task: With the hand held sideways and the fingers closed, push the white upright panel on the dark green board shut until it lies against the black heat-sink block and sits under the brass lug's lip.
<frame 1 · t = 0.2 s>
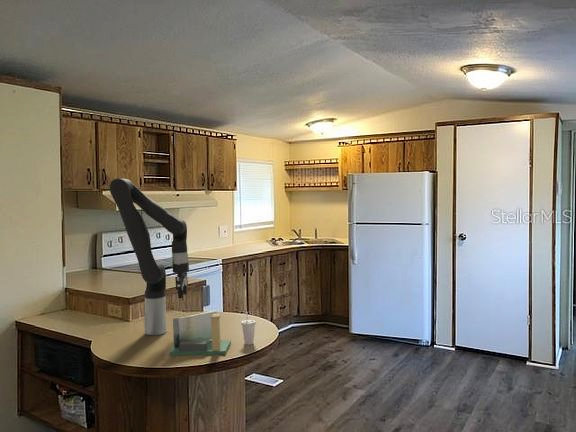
hand: (182, 296, 230), 17 cm above the countertop, tool pointing down, fingers open, 8 cm apart
bracket: (201, 349, 207), on the countertop
smoothie: (249, 343, 213), on the countertop
white upright panel: (195, 328, 209), point 8 cm above the countertop, hinge at 40.0°
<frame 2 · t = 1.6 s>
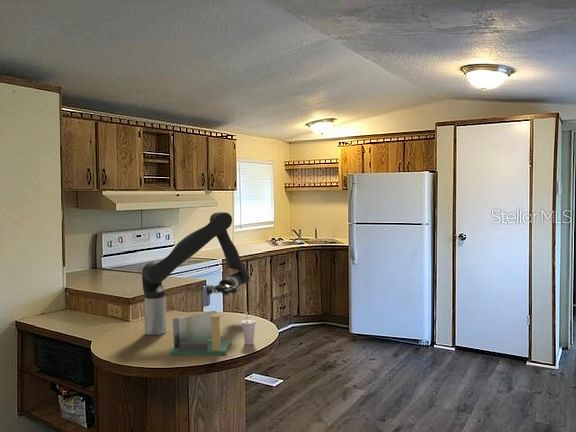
hand: (216, 292, 222), 20 cm above the countertop, tool horizontal, fingers open, 7 cm apart
nothing on the countertop moved.
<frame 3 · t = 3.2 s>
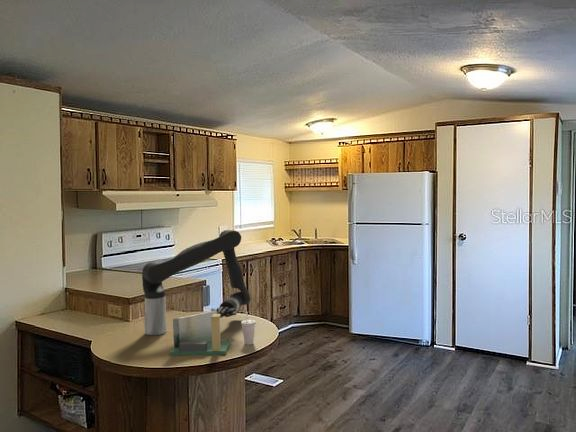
hand: (217, 316, 220), 10 cm above the countertop, tool horizontal, fingers closed
nothing on the countertop moved.
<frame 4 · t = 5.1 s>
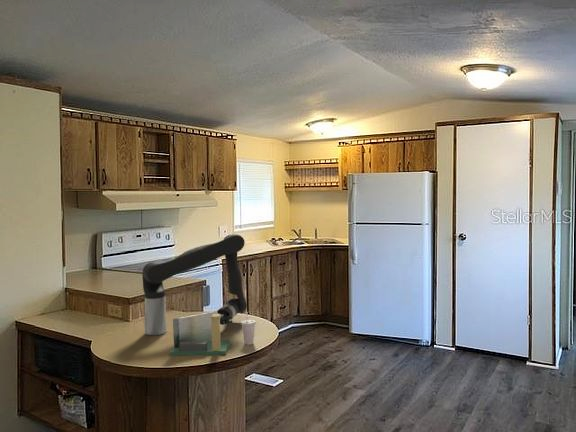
hand: (212, 324, 215), 8 cm above the countertop, tool horizontal, fingers closed
white upright panel: (196, 328, 209), point 8 cm above the countertop, hinge at 37.5°
everything else where it was.
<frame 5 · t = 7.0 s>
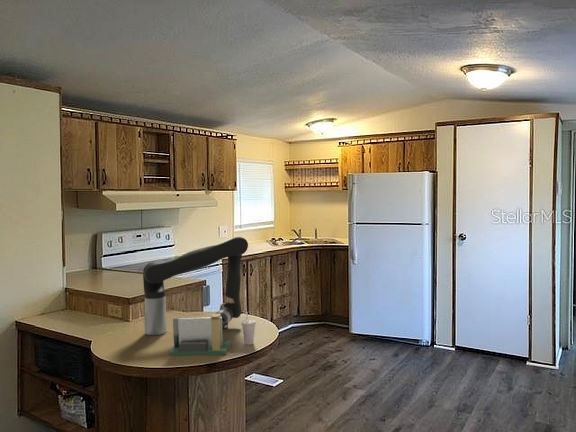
hand: (207, 331, 205), 8 cm above the countertop, tool horizontal, fingers closed
white upright panel: (197, 332, 204), point 8 cm above the countertop, hinge at 4.6°, touching gripper
everything else where it was.
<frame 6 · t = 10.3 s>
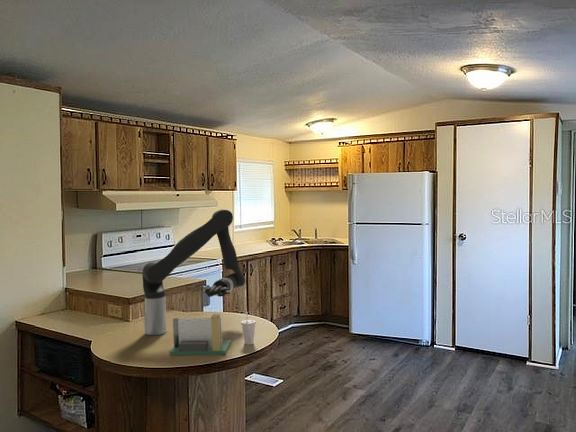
hand: (209, 294, 212), 22 cm above the countertop, tool horizontal, fingers closed
white upright panel: (197, 332, 204), point 8 cm above the countertop, hinge at -0.2°
everything else where it was.
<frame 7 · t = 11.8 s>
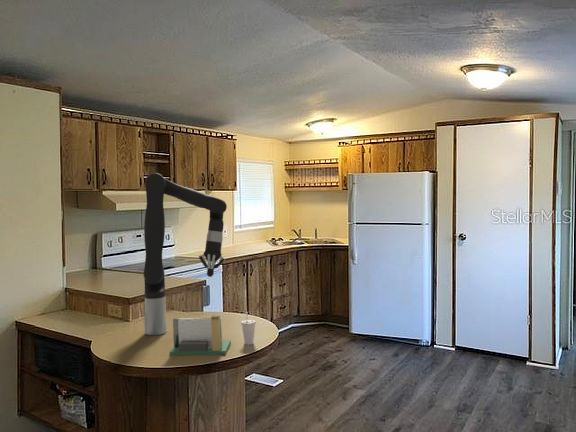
hand: (209, 276, 235), 25 cm above the countertop, tool pointing down, fingers closed
nothing on the countertop moved.
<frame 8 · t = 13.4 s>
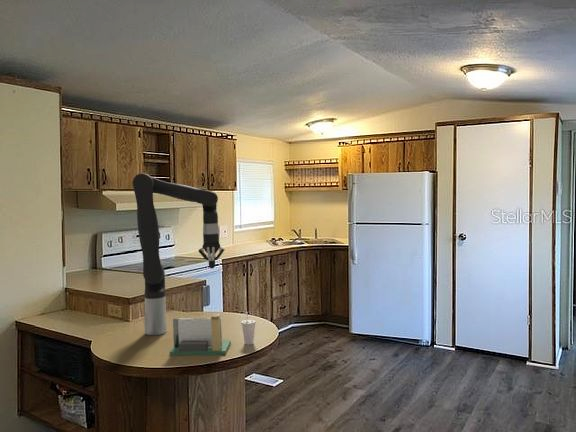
hand: (212, 268, 237), 29 cm above the countertop, tool pointing down, fingers closed
nothing on the countertop moved.
at the end: white upright panel at +0° (first picture: +40°) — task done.
